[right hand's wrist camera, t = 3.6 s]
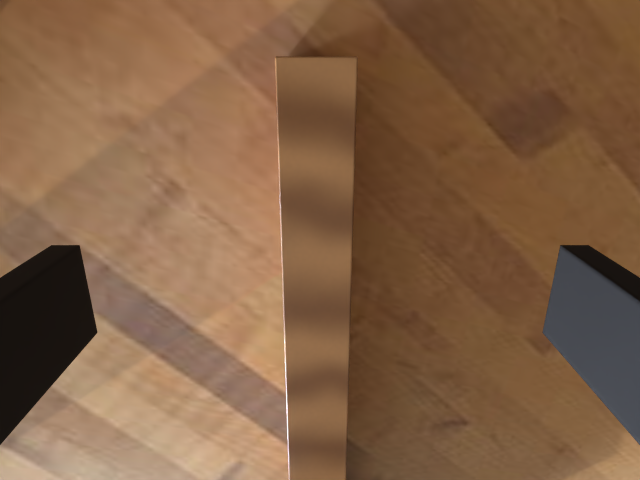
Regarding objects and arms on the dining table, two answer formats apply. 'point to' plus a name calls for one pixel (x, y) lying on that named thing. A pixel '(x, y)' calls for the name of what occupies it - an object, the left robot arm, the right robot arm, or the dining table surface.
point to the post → (316, 255)
